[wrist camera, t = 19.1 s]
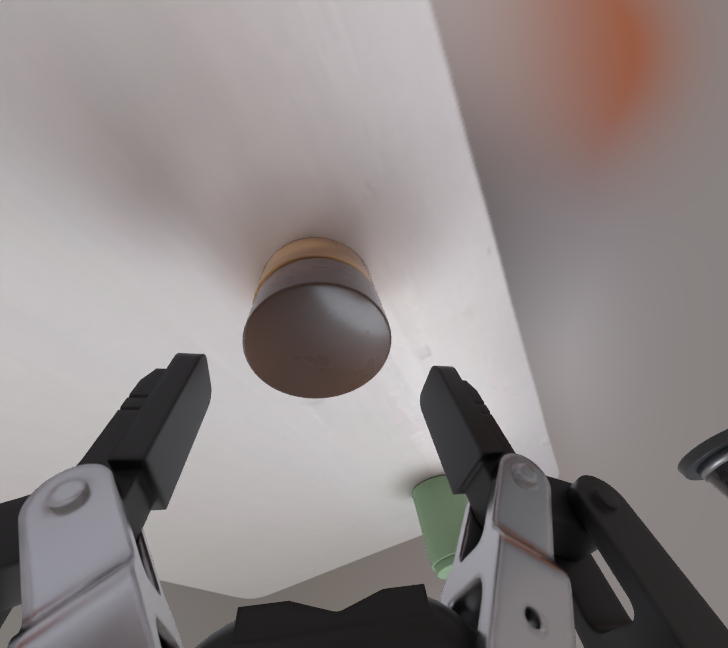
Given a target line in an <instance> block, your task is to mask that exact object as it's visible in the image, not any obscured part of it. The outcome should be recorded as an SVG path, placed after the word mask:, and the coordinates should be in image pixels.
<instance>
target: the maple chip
mask: <svg viewBox="0 0 728 648" xmlns="http://www.w3.org/2000/svg"><path fill="white" fill-rule="evenodd" d="M306 258H328V259H333V260H337V261H340V262H344V263H346V264H348V265H350V266H352V267H354V268H355V269H357V270H358V271H360V272H361V273H362V274H363V275H365V276H366V277H367V279H368V280H369V281H370V282H371V283H372V285H373V282H372V280H371V277H370V275H369V272H368V270H367V268H366V266H365V264H364V263H363V261H362V260H361V258H360V257H359V256H358V255H357V254H356V253H355V252H354V251H352V250H351V249H350V248H348V247H347V246H345V245H343V244H341V243H339V242H336V241H333V240H329V239H324V238H306V239H301V240H297V241H294V242H291V243H289V244H287V245H285V246H284V247H282V248H281V249H279V250H278V251H277V252H276V253H275V254H274V255H273V256H272V257H271V258H270V260H269V261H268V263H267V265H266V266H265V269H264V271H263V274H262V276H261V279H260V282H259V284H258V287H257V289H256V292H255V294H254V299H253V303H254V300H255V298H256V295H257V293H258V290H259V289H260V287H261V285H262V284H263V282H264V281H265V280H266V279H267V278H268V277H269V276H270V275H271V274H272V273H273V272H274V271H276V270H277V269H279V268H280V267H282V266H284V265H286V264H288V263H291V262H294V261H297V260H301V259H306ZM373 286H374V285H373Z"/></svg>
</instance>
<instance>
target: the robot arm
mask: <svg viewBox="0 0 728 648" xmlns="http://www.w3.org/2000/svg"><path fill="white" fill-rule="evenodd" d="M210 399H211V382H210V376H209V370H208V364H207V358H206V356H205V355H204V354H189V353H178V354H176V355H175V357H174V358H173V359H172V361H171V363H170V364H169V366H168V367H167V369H155V370H154V371H152V372H151V373H150V374H148V375H147V376H145V377H144V378H143V379H141V380H140V381H139V382H138V384H137V385H136V387H135V388H134V389H133V391H132V392H131V393H130V396H129V398H127V399H126V400H125V402H124V403H123V404H122V406H121V408H120V410H118V411H117V412H116V414H115V415H114V416H113V418H112V419H111V421H110V422H109V423H108V425H107V426H106V427H105V429H104V430H103V431H102V433H101V434H100V436H99V437H98V438H97V440H96V441H95V442H94V444H93V445H92V446H91V448H90V449H89V451H88V452H87V453H86V455H85V456H84V457H83V459H82V460H81V461H80V462H79V464H78V465H77V466H75V467H72V468H70V469H67V470H65V471H63V472H61V473H59V474H57V475H55V476H53V477H52V478H50V479H48V480H47V481H46V482H44V483H43V484H42V485H40V486H39V487H38V488H37V489H36V490H35V491H34V492H33V493H32V494H30V495H27V496H24V497H21V498H18V499H14V500H11V501H7V502H4V503H0V628H1V626H2V624H3V623H4V621H5V619H6V618H7V616H8V614H9V612H10V611H11V609H12V608H13V607H15V606H17V605H20V604H22V625H21V629H20V631H19V633H18V634H17V635H15V636H14V637H13V638H12V639H11V640H10V642H9V644H8V647H7V648H183V646H182V643H181V639H180V636H179V634H178V630H177V627H176V625H175V622H174V619H173V616H172V614H171V612H170V609H169V607H168V605H167V602H166V599H165V597H164V594H163V591H162V587H161V584H160V581H159V578H158V575H157V571H156V568H155V565H154V562H153V559H152V556H151V552H150V549H149V546H148V543H147V540H146V537H145V533H144V530H143V526H144V524H145V522H146V519H147V517H148V515H149V513H150V510H165V509H166V508H167V506H168V504H169V501H170V499H171V496H172V494H173V491H174V489H175V487H176V484H177V482H178V479H179V477H180V474H181V472H182V469H183V467H184V465H185V462H186V460H187V457H188V455H189V452H190V450H191V448H192V445H193V443H194V440H195V438H196V435H197V433H198V431H199V428H200V426H201V423H202V421H203V418H204V416H205V413H206V411H207V409H208V406H209V403H210ZM420 406H421V410H422V413H423V415H424V418H425V421H426V423H427V426H428V429H429V431H430V434H431V437H432V439H433V442H434V445H435V447H436V450H437V453H438V456H439V458H440V461H441V464H442V466H443V469H444V472H445V474H446V477H447V480H448V482H449V485H450V488H451V490H452V493H453V495H456V494H466V496H467V498H468V501H469V502H468V503H467V505H466V508H465V512H464V517H463V521H462V526H461V530H460V535H459V539H458V544H457V548H456V553H455V557H454V562H453V565H452V568H451V571H450V573H449V575H448V577H447V579H446V582H445V584H444V587H443V590H442V593H441V597H440V601H437V600H435V599H432V598H430V597H427V595H426V590H425V586H424V584H419V585H411V586H403V587H395V588H387V589H382V590H380V591H378V592H376V593H374V594H372V595H371V596H369V597H367V598H365V599H363V600H361V601H359V602H358V603H356V604H353V605H352V606H350V607H348V608H346V609H344V610H342V611H338V612H335V611H329V610H325V609H320V608H317V607H312V606H308V605H304V604H299V603H295V602H291V601H284V602H277V603H269V604H261V605H253V606H244V607H239V608H238V611H237V616H236V620H235V621H233V622H231V623H229V624H227V625H225V626H224V627H222V628H221V629H219V630H218V631H216V632H214V633H213V634H211V635H210V636H209V637H208V638H206V639H205V640H204V641H203V642H201V643H200V644H199V645H198V646H197V647H196V648H576V637H575V629H576V631H577V633H578V635H579V637H580V640H581V642H582V644H583V646H584V648H728V629H727V628H726V627H725V625H724V624H723V623H722V622H721V620H720V619H719V618H718V616H717V615H716V614H715V613H714V611H713V610H712V609H711V608H710V606H709V605H708V604H707V602H706V601H705V600H704V599H703V597H702V596H701V595H700V594H699V593H698V591H697V590H696V589H695V588H694V586H693V585H692V584H691V582H690V581H689V580H688V579H687V577H686V576H685V575H684V574H683V572H682V571H681V570H680V569H679V567H678V566H677V565H676V563H675V562H674V561H673V560H672V558H671V557H670V556H669V555H668V553H667V552H666V551H665V550H664V548H663V547H662V546H661V545H660V543H659V542H658V541H657V539H656V538H655V537H654V536H653V534H652V533H651V532H650V531H649V529H648V528H647V527H646V526H645V524H644V523H643V522H642V521H641V519H640V518H639V517H638V516H637V514H636V513H635V512H634V510H633V509H632V508H631V507H630V505H629V504H628V503H627V502H626V500H625V499H624V498H623V497H622V496H621V495H620V494H619V493H618V492H617V491H616V490H615V489H614V488H613V487H611V486H610V485H608V484H607V483H605V482H604V481H602V480H600V479H598V478H596V477H593V476H588V475H584V476H581V477H579V478H578V479H577V480H576V481H575V482H574V483H573V484H571V483H568V482H565V481H562V480H558V479H555V478H552V477H548V476H545V474H544V473H543V471H542V470H541V469H540V468H539V467H538V466H537V465H536V464H535V463H534V462H532V461H531V460H529V459H528V458H526V457H524V456H522V455H519V454H516V453H515V452H514V450H513V448H512V447H511V445H510V444H509V442H508V440H507V439H506V437H505V436H504V434H503V432H502V431H501V429H500V427H499V426H498V424H497V423H496V421H495V419H494V418H493V416H492V415H490V411H489V410H488V408H487V406H486V405H484V402H483V400H482V398H481V397H480V395H479V394H478V392H477V390H475V389H474V388H473V387H472V386H471V385H470V384H469V383H468V382H467V381H464V380H462V379H461V377H460V376H459V374H458V372H457V371H456V369H455V368H454V367H450V366H433V367H432V368H431V370H430V372H429V375H428V377H427V380H426V382H425V384H424V387H423V389H422V392H421V395H420ZM697 473H698V474H699V475H700V476H701V477H702V478H703V479H704V480H705V481H706V482H708V483H710V484H711V485H712V486H713V487H715V488H716V489H717V490H718V491H719V492H720V493H721V494H722V495H724V496H725V497H726V498H727V499H728V446H727V447H725V448H723V449H722V450H720V451H718V452H717V453H715V454H713V455H712V456H710V457H709V458H708V459H706V460H705V461H704V462H703V463H702V464H701V465H700V466H699V468H698V470H697ZM597 549H598V550H599V552H600V553H601V555H602V556H603V558H604V560H605V561H606V563H607V564H608V566H609V567H610V569H611V570H612V572H613V574H614V575H615V577H616V578H617V580H618V581H619V583H620V585H621V586H622V588H623V590H624V591H625V593H626V594H627V596H628V597H629V599H630V601H631V603H632V606H633V609H634V620H633V621H632V620H631V619H630V617H629V616H628V614H627V613H626V611H625V610H624V608H623V607H622V605H621V603H620V601H619V600H618V598H617V596H616V595H615V593H614V591H613V590H612V588H611V587H610V585H609V583H608V582H607V580H606V578H605V577H604V575H603V573H602V572H601V570H600V568H599V567H598V565H597V564H596V562H595V560H594V558H593V557H592V555H591V553H593V552H594V551H596V550H597Z"/></svg>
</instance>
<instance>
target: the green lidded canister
mask: <svg viewBox="0 0 728 648" xmlns="http://www.w3.org/2000/svg"><path fill="white" fill-rule="evenodd" d="M412 496H413V500H414V504H415V507H416V511H417V515H418V519H419V522H420V526H421V530H422V534H423V537H424V541H425V545H426V549H427V552H428V556H429V560H430V564H431V567H432V569H433V570H434V571H436V573H437V576H438V577H439V578H441V579H447V577H448V575H449V573H450V571H451V568H452V565H453V562H454V557H455V553H456V548H457V544H458V539H459V535H460V530H461V526H462V521H463V517H464V512H465V508H466V505H467V503H468V502H469V501H468V498H467V496H466V494H456V495H453V493H452V490H451V488H450V485H449V482H448V480H447V477H446V475H445V476H437V477H433V478H430V479H428V480H425V481H424V482H422V483H420V484H419V485H418V486H416V487H415V489H414V490H413V493H412Z"/></svg>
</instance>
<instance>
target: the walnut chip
mask: <svg viewBox="0 0 728 648" xmlns="http://www.w3.org/2000/svg"><path fill="white" fill-rule="evenodd" d="M390 346H391V330H390V326H389V323H388V320H387V317H386V315H385V312H384V310H383V307H382V304H381V302H380V299H379V296H378V294H377V292H376V290H375V288H374V286H373V285H372V283H371V282H370V281H369V280H368V279H367V277H366V276H365V275H363V274H362V273H361V272H360V271H358V270H357V269H355V268H354V267H352V266H350V265H348V264H346V263H344V262H340V261H337V260H333V259H328V258H306V259H301V260H297V261H294V262H291V263H288V264H286V265H284V266H282V267H280V268H279V269H277V270H276V271H274V272H273V273H272V274H271V275H270V276H269V277H268V278H267V279H266V280H265V281H264V282H263V284H262V285H261V287H260V289H259V290H258V293H257V295H256V298H255V300H254V303H253V306H252V309H251V311H250V314H249V317H248V319H247V322H246V325H245V327H244V332H243V350H244V354H245V357H246V360H247V362H248V363H249V365H250V367H251V369H252V370H253V371H254V373H255V374H256V375H257V376H258V377H259V378H260V379H261V380H262V381H264V382H265V383H266V384H268V385H269V386H271V387H273V388H274V389H276V390H278V391H281V392H283V393H286V394H289V395H293V396H297V397H303V398H328V397H334V396H339V395H342V394H345V393H348V392H351V391H353V390H355V389H357V388H359V387H361V386H362V385H364V384H365V383H367V382H368V381H369V380H371V379H372V378H373V377H374V376H375V375H376V374H377V373H378V372H379V371H380V369H381V368H382V366H383V365H384V363H385V361H386V359H387V357H388V354H389V351H390Z"/></svg>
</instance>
